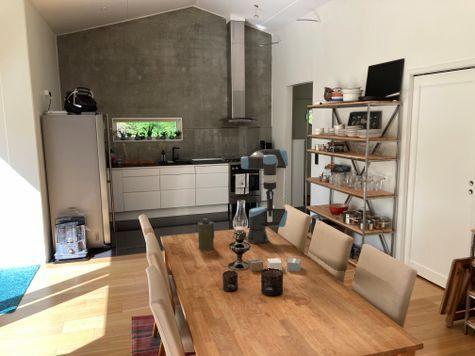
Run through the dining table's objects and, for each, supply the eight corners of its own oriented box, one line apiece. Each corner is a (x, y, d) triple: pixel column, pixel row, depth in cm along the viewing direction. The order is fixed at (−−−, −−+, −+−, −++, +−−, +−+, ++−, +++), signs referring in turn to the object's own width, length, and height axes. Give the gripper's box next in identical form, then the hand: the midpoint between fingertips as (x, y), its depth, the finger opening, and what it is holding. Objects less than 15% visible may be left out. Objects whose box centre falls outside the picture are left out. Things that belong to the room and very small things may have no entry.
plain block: (267, 266, 222) (267, 258, 221) (279, 266, 222) (279, 258, 222) (269, 271, 215) (269, 263, 214) (281, 270, 216) (281, 262, 215)
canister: (195, 249, 253) (195, 220, 250) (201, 244, 263) (201, 216, 260) (211, 251, 250) (210, 221, 247) (216, 246, 259) (216, 217, 257)
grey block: (288, 266, 222) (288, 257, 221) (300, 267, 220) (300, 258, 220) (287, 271, 215) (287, 262, 215) (299, 272, 214) (299, 263, 213)
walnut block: (247, 267, 222) (247, 258, 221) (259, 265, 224) (259, 257, 223) (251, 271, 215) (251, 262, 214) (263, 270, 217) (262, 261, 216)
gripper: (262, 180, 226) (262, 218, 230) (264, 183, 213) (264, 224, 217) (274, 179, 226) (274, 218, 230) (277, 183, 214) (277, 224, 217)
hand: (269, 221), depth 224 cm, fingers closed
